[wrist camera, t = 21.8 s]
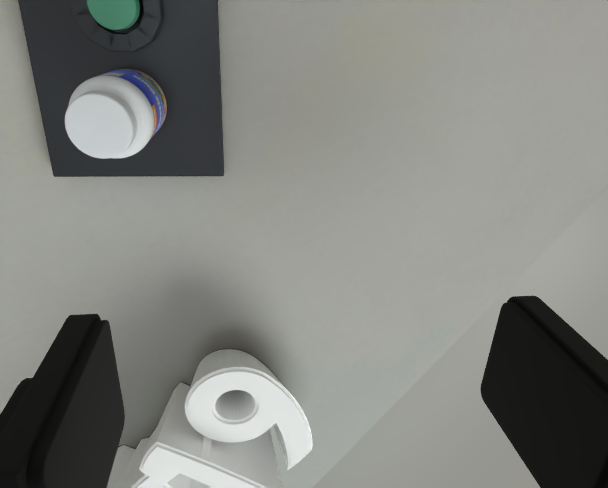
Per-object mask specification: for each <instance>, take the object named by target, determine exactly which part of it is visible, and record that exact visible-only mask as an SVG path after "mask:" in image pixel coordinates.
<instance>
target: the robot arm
mask: <svg viewBox="0 0 608 488" xmlns="http://www.w3.org/2000/svg"><path fill="white" fill-rule="evenodd" d="M481 395H482V398H483V400H484V402H485V404H486V405H487V407H488V408H489V410H490V412H491V413H492V414H493V416H494V418H495V419H496V421H497V422H498V424H499V425H500V427H501V428H502V430H503V431H504V433H505V434H506V436H507V437H508V439H509V440H510V442H511V443H512V445H513V446H514V448H515V449H516V451H517V452H518V454H519V456H520V457H521V459H522V460H523V461H524V463H525V464H526V466H527V468H528V469H529V471H530V472H531V474H532V475H533V477H534V478H535V480H536V481H537V483H538V484H539V486H540V487H541V488H608V360H607V359H606V358H605V357H603V355H601V354H600V353H599V352H598V351H597V350H596V349H595V348H594V347H593V346H591V345H590V344H589V343H588V342H587V341H586V340H585V339H584V338H583V337H582V336H581V335H579V334H578V333H577V332H576V331H575V330H574V329H573V328H572V327H570V326H569V325H568V324H567V323H566V322H565V321H564V320H563V319H562V318H561V317H559V316H558V315H557V314H556V313H555V312H554V311H553V310H552V309H550V308H549V307H548V306H547V305H546V304H545V303H544V302H543V301H542V300H541V299H539V298H538V297H536V296H519V297H518V296H517V297H511V298H510V299H509V300H508V301H507V303H504V304H503V306H502V307H501V310H500V315H499V318H498V322H497V326H496V330H495V334H494V337H493V341H492V345H491V349H490V353H489V357H488V361H487V365H486V368H485V372H484V376H483V380H482V384H481ZM124 418H125V414H124V406H123V400H122V394H121V389H120V383H119V377H118V371H117V365H116V359H115V353H114V348H113V342H112V336H111V330H110V325H109V322H108V321H107V320H101V319H100V317H99V315H98V314H85V315H70V316H69V317H68V318H67V319H66V321H65V323H64V324H63V326H62V328H61V330H60V331H59V333H58V335H57V337H56V338H55V340H54V342H53V344H52V345H51V347H50V349H49V351H48V352H47V354H46V356H45V358H44V359H43V361H42V363H41V365H40V366H39V368H38V370H37V372H36V373H35V375H34V377H33V378H26V379H24V380H23V381H21V383H20V384H19V385H18V386H17V388H16V390H15V391H14V393H13V395H12V396H11V398H10V400H9V401H8V403H7V405H6V406H5V408H4V410H3V411H2V413H1V415H0V488H107V485H108V481H109V478H110V474H111V470H112V467H113V463H114V460H115V456H116V452H117V449H118V445H119V442H120V438H121V434H122V431H123V427H124Z"/></svg>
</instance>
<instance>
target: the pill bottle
mask: <svg viewBox="0 0 608 488" xmlns="http://www.w3.org/2000/svg"><path fill="white" fill-rule="evenodd" d="M166 111H167V105H166V99H165V96H164V93H163V91H162V89H161V88H160V86H159V85H158V84H157V83H156V81H154V80H153V79H152V78H151V77H150V76H148V75H147V74H145V73H143V72H141V71H138V70H134V69H118V70H114V71H111V72H108V73H105V74H102V75H99V76H96V77H93V78H91V79H88V80H86V81H85V82H83V83H82V84H80V85H79V86H78V87H77V88H76V89H75V91H74V92H73V94H72V96H71V98H70V101H69V105H68V109H67V111H66V114H65V128H66V131H67V134H68V136H69V138H70V140H71V141H72V143H73V144H74V145H75V146H76V147H77V148H78V149H79V150H81V151H82V152H83V153H85V154H87V155H89V156H92V157H95V158H102V159H107V158H126V157H129V156H132V155H134V154H136V153H138V152H139V151H140V150H141V149H143V148H144V147H145V145H146V144H147V143H148V142H149V141H150V139H151V138H152V137H153V136H154V134H155V133H156V132H157V131H158V130H159V129H160V127H161V126H162V124H163V122H164V120H165V117H166Z"/></svg>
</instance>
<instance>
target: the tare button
mask: <svg viewBox="0 0 608 488" xmlns="http://www.w3.org/2000/svg"><path fill="white" fill-rule="evenodd" d="M87 5H88V9H89V11H90V13H91V15H92V17H93V18H94V19H95V20H96V21H97V22H98V23H99V24H100V25H102V26H103V27H105V28H108V29H111V30H123V29H127V28H129V27H131V26H133V25H134V24H135V22H136V21H137V19H138V17H139V13H140V4H139V0H87Z"/></svg>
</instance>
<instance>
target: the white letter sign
mask: <svg viewBox="0 0 608 488" xmlns="http://www.w3.org/2000/svg"><path fill="white" fill-rule="evenodd" d="M273 425H274V429H275V432H276V435H277V438H278V441H279V444H280V447H281V450H282V454H283V457H284V460H285V463H286V466H287V469H288V470H289V469H290V468H291V467H293V466H294V465H295V464H297V463H298V462H299V461H300V460H302V459H303V458H304V457H305V456H306V455H307V454H308V453H309V452H310V451H311V450H312V435H311V430H310V426H309V423H308V420H307V418H306V416H305V414H304V412H303V410H302V408H301V406H300V405H299V403H298V402H297V401H296V399H295V398H294V397H293V396H292V395H291V393H290V392H289V391H288V390H287V389H286V388H285V387H284V386H283V385H282V383H281V382H280V381H279V380H278V379H277V378H276V377H275V376H274V374H273V373H272V372H271V371H270V370H269V369H268V368H267V367H266V366H265V365H264V364H263V363H261V362H260V361H259V360H258V359H256V358H255V357H253V356H252V355H250V354H248V353H246V352H243V351H239V350H233V349H225V350H219V351H215V352H212V353H210V354H208V355H207V356H206V357H204V358H203V359H202V361H201V362H200V363H199V365H198V368H197V370H196V373H195V375H194V378H193V381H192V383H191V386H188V385H186V384H184V383H182V382H180V383H179V384H178V385H177V386H176V388H175V389H174V391H173V393H172V395H171V397H170V399H169V402H168V404H167V406H166V408H165V411H164V413H163V415H162V417H161V419H160V422H159V424H158V426H157V428H156V429H155V430H154V432H153V433H152V434H151V436H150V438H145V439H141V441H140V443H139V445H138V446H137V448H136V449H133V448H131V447H128V446H125V445H122V446H121V447H119V448H118V449H117V452H116V456H115V460H114V463H113V467H112V470H111V474H110V478H109V481H108V485H107V488H283V487H282V483H281V478H280V473H279V469H278V464H277V460H276V455H275V450H274V446H273V441H272V436H271V432H270V428H271V427H272V426H273Z"/></svg>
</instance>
